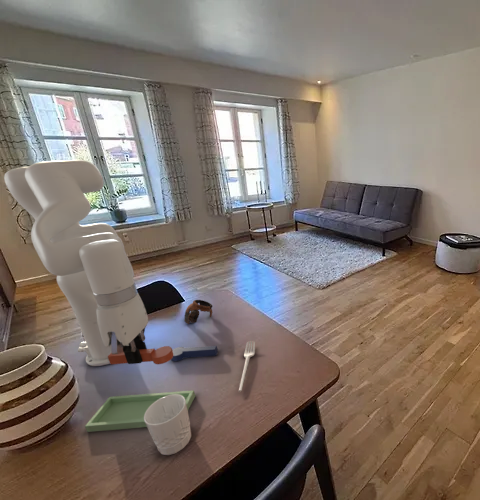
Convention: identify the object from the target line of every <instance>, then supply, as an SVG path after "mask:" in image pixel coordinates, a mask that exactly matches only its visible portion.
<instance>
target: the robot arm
mask: <svg viewBox="0 0 480 500" xmlns="http://www.w3.org/2000/svg"><path fill="white" fill-rule="evenodd" d="M3 179H4V183H5V186H6V187H7V190H8V191H9V194H11V196H12V197H13V198H14V200H15V201H16V202H17V203H18V204H19V205H20V206H21V207H22V208H23V209H24V210H25V211H26V212H27V213H28V214H29V215H30V216H31V217H32V219H34V222H33V224H32V226H31V230H30V237H31V238H30V239H31V242H32V245H33V248H34V250H35V252H36V254H37V256H38V257H39V260H40V261H41V263H42V265H43V266H44V268H45V269H46V270H47V271H48V272H49V273H50V274H52V275H53V276H56V283H57V285H58V287H59V289H60V290H61V292H62V293H63V295H64V297H65V298H66V300H67V302H68V303H69V305H70V307H71V309H72V312H73V314H74V316H75V320H76V321H77V324H78V327H79V328H80V331H81V334H82V336H83V338H84V341H81V342H79V345H78V346H79V347H78V349H77V352H78V353H84V352H85V353H86V356H85V362H86V364H87V365H88V366H91V367H100V366H107V365H109V364H110V361H109V359H108V355H109V354H110V353H111V352H112V354H120V353H122V352H124V354H125V357H126V360H127V363H126V364H128V365H136V364H137V365H138V364H142V363H143V362H142V361H143V360H142V357H141V354H140V351H139V350H141V349H148V348H147V345H146V342H145V341H146V336H145V330H146V328H147V326H148V323H149V317H148V313H147V309H146V307H145V304H144V302H143V300H142V298H141V296H140V293H139V292H138V288H137V285H136V283H135V279H134V277H135V272H134V268H133V265H132V263H131V261H130V258H129V257H128V254H127V252H126V248H125V245H124V241H123V240H122V238H121V237H120V236H119V234H118V233H117V231H116V230H115V228H114V227H113V226H111V224H109V223H106V222H105V223H104V222H98V223H97V222H96V223H91V224H85V225H82V224H81V223H80V222H81V221H83V220H84V219H85V218H87V217H88V216H89V214H90V213H91V204H90V201H89V200H88V199H87V197H86V196H85V194H87V193H97V192H100V190H102V189H103V187H104V178H103V175H102V173H101V171H100V169H99V168H98V167H97V166H96V165H95V164H94V163H93V162H91V161H89V160H86V159H71V160H70V159H69V160H68V159H67V160H48V161H47V160H46V161H39V162H35V163H33V164H30V165H29V166H21V167H15V168H12V169H9V170H7V171H6V172H5V173H4V175H3ZM110 365H111V364H110Z"/></svg>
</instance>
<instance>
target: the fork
mask: <svg viewBox="0 0 480 500" xmlns="http://www.w3.org/2000/svg"><path fill="white" fill-rule="evenodd" d="M255 343H256V342H255V341H252V340H250V341H247V342H246V345H245V349H244V354H243V357H244V358H245V361H244V365H243V371H242V375H241V379H240V382H239V386H238V387H239V388H238V393H242V391H243V388H244V387H243V386H244V383H245V379H246V375H247V371H248V367H249V363H250V358H251V357H254V356H255V353H256V345H255Z"/></svg>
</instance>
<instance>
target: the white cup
mask: <svg viewBox="0 0 480 500" xmlns="http://www.w3.org/2000/svg"><path fill="white" fill-rule="evenodd" d="M144 421H145V423H146V425H147V427H146V428H147V430H148V432H149V434H150V437H151V439H152V441H153V443H154V445H155V446H156V449H157V451H158V452H159V453H160V454H161V455H165V456H170V455H174V454H177V453H179V452H180V451H181V450H183V449H184V448H186V446H187V445H188V444H189V442H190V441H191V438H192V430H191V429H192V428H191V421H190V417H189V409H188V410H187V405H186V400H185V398H184V397H183V396H182V395H179V394H172V395H168V396H165V397H162V398H160V399H158V400H157V401H155V402H154V403H153V404H152V405H150V407H149V408H148V409H147V410H146V412H145V414H144Z"/></svg>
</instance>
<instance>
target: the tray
mask: <svg viewBox="0 0 480 500" xmlns="http://www.w3.org/2000/svg"><path fill="white" fill-rule="evenodd" d="M172 394H179V395H182V396H183V397H184V398H185V400H186V405H187V410H188V411H189V409H190V407H191V405H192V404H193V401H194V399H195V397H196V393H195V390H181V391H179V390H178V391H168V392H166V391H165V392H154V393H141V394H127V395H116V396H115V395H114V396H109V397H108V398H107V399H106V400H105V401H104V403H103V404H102V405H101V406H100V407H99V408H98V410H97V411H96V412H95V413H94V414H93V416H92V417H91V418H90V419H89V421H88V422H87V423H86V424H85V426H84V428H85V430H86V432H87V433H91V432H92V433H93V432H103V431H105V432H106V431H117V430H126V429H127V430H129V429H139V428H141V429H142V428H147V425H146V423H145V421H144V414H145V412H146V410H147V409H148V408H149V407H150V405H152V404H153V403H154V402H155V401H157V400H158V399H160V398H162V397H165V396H168V395H172Z"/></svg>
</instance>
